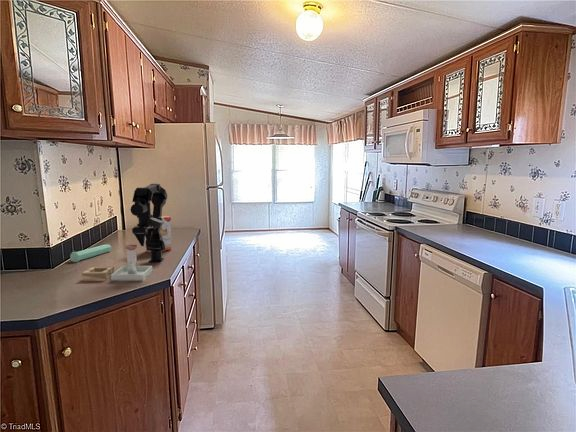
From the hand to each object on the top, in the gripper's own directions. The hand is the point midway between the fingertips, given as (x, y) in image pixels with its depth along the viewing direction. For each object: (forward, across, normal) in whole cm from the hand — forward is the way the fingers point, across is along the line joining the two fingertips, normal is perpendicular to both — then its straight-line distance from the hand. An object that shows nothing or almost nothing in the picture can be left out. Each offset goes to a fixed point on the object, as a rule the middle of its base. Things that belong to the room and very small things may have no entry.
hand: (145, 244), depth 174 cm
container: (+13, +26, +38) cm, 48 cm away
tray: (+13, -11, +3) cm, 17 cm away
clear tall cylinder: (+12, -11, +3) cm, 17 cm away
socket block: (+13, -12, +18) cm, 25 cm away
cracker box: (+13, +38, +5) cm, 41 cm away
